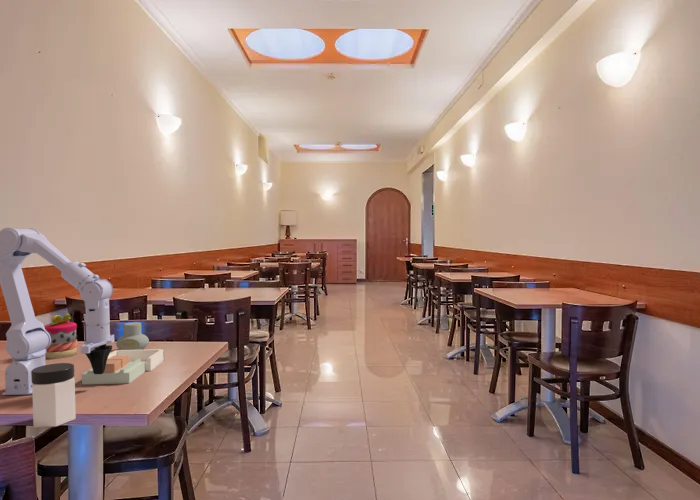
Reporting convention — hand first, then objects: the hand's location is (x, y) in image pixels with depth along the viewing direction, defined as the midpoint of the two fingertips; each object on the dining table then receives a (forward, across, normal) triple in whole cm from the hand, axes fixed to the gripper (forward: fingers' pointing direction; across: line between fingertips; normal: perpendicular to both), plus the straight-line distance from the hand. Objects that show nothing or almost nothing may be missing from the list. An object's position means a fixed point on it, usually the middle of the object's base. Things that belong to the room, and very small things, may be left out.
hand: (99, 373), depth 127 cm
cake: (+4, +39, +32) cm, 51 cm away
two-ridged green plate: (+4, +10, 0) cm, 10 cm away
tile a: (+1, +6, 0) cm, 6 cm away
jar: (+4, -23, -1) cm, 23 cm away
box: (+4, +22, 0) cm, 22 cm away
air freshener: (+4, +44, +9) cm, 45 cm away
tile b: (+1, +11, 0) cm, 11 cm away
